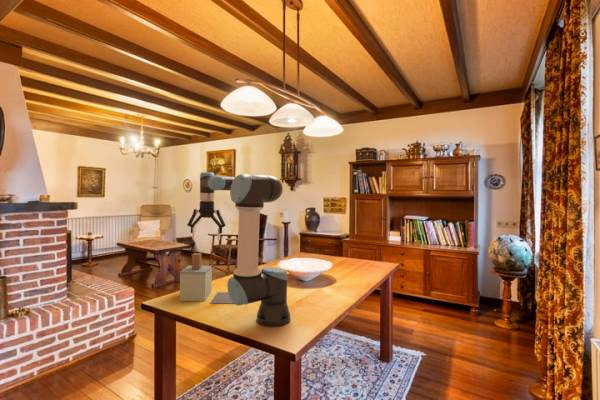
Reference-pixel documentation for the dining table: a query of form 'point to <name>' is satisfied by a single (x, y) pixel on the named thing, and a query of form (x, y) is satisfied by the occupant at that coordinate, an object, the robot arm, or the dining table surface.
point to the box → (195, 286)
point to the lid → (196, 266)
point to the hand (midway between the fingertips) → (206, 239)
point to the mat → (222, 298)
